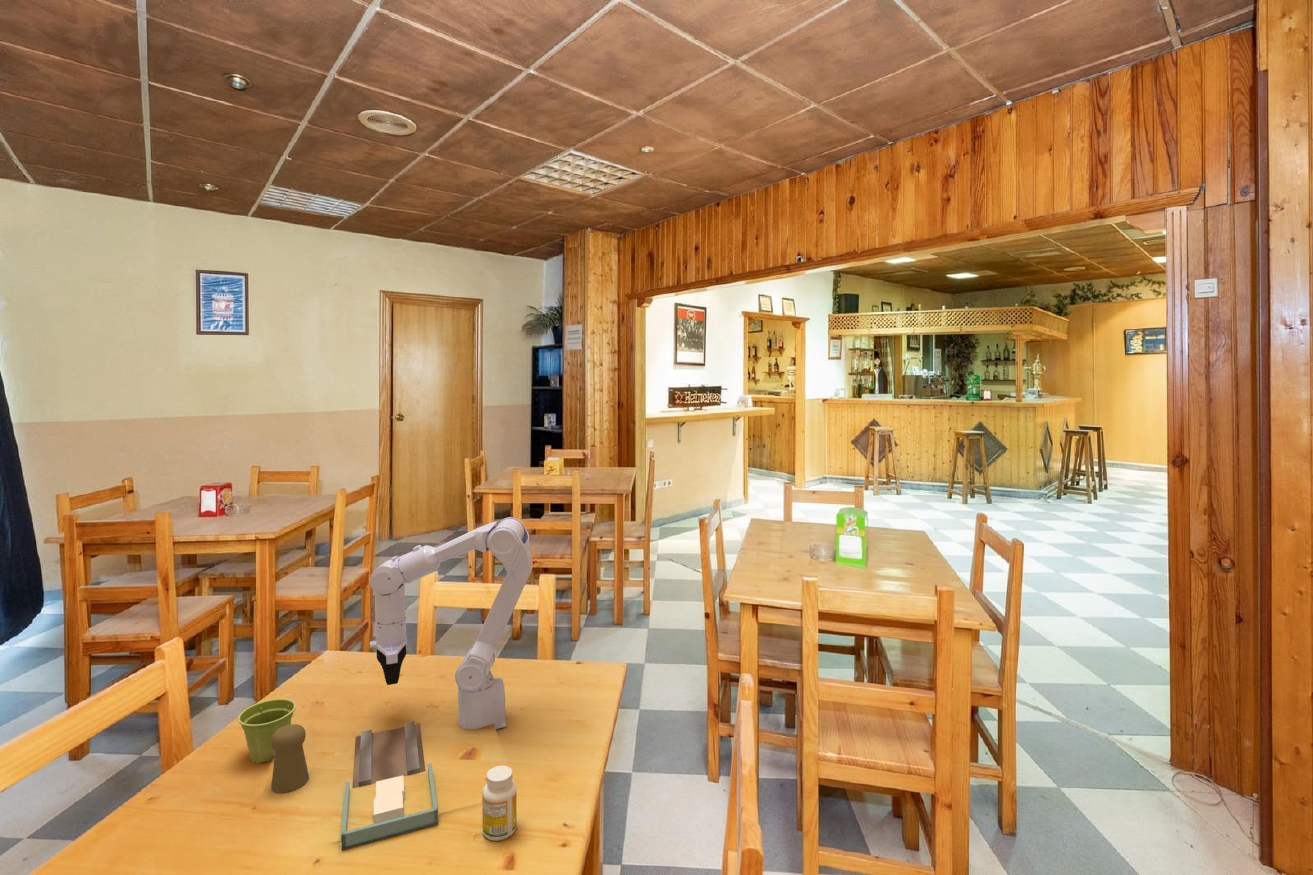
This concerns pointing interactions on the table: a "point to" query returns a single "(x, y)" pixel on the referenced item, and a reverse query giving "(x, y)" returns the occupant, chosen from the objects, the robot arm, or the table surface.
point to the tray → (388, 822)
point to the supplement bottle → (499, 804)
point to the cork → (289, 759)
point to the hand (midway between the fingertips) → (392, 682)
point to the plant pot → (265, 726)
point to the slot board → (388, 754)
